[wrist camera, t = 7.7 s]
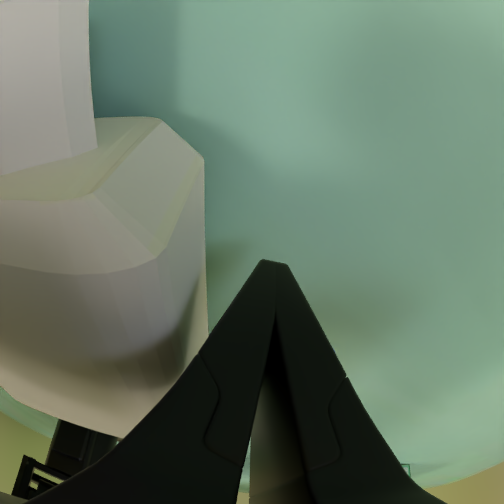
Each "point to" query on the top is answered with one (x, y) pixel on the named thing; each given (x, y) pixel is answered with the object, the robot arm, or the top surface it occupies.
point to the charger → (91, 234)
